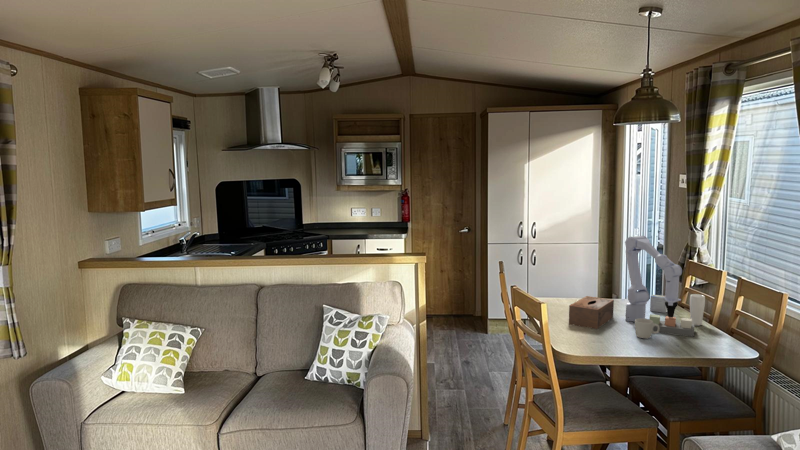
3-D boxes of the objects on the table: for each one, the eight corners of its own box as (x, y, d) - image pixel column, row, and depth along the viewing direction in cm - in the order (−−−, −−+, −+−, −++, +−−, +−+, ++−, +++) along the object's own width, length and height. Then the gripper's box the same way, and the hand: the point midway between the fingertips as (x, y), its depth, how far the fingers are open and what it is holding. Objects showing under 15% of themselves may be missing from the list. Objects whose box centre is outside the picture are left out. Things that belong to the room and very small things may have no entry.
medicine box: (666, 311, 314) (667, 296, 313) (665, 313, 310) (666, 297, 309) (651, 309, 318) (651, 294, 317) (649, 311, 314) (650, 295, 313)
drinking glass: (705, 326, 284) (707, 297, 283) (690, 325, 286) (692, 296, 284) (701, 322, 291) (702, 294, 289) (686, 322, 292) (688, 293, 291)
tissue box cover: (597, 329, 281) (597, 309, 280) (568, 324, 290) (569, 305, 289) (613, 318, 302) (613, 299, 300) (586, 313, 310) (586, 295, 309)
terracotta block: (664, 326, 277) (665, 318, 276) (665, 323, 281) (665, 316, 280) (675, 327, 275) (675, 319, 274) (675, 325, 279) (675, 317, 278)
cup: (658, 336, 269) (659, 319, 269) (659, 341, 262) (660, 324, 261) (633, 333, 273) (634, 317, 272) (634, 338, 265) (635, 322, 265)
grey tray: (645, 330, 278) (645, 324, 278) (647, 324, 288) (648, 319, 287) (693, 336, 268) (694, 330, 268) (694, 330, 278) (694, 324, 277)
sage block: (649, 324, 280) (649, 316, 280) (650, 322, 284) (650, 314, 284) (659, 325, 278) (659, 317, 278) (659, 323, 282) (660, 315, 282)
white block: (680, 328, 273) (681, 320, 273) (681, 325, 277) (681, 317, 277) (691, 329, 271) (691, 321, 271) (691, 327, 275) (691, 319, 275)
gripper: (680, 293, 268) (679, 321, 269) (681, 287, 280) (680, 314, 282) (664, 291, 271) (662, 319, 272) (666, 286, 284) (664, 312, 285)
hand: (670, 316), depth 277 cm, fingers closed
